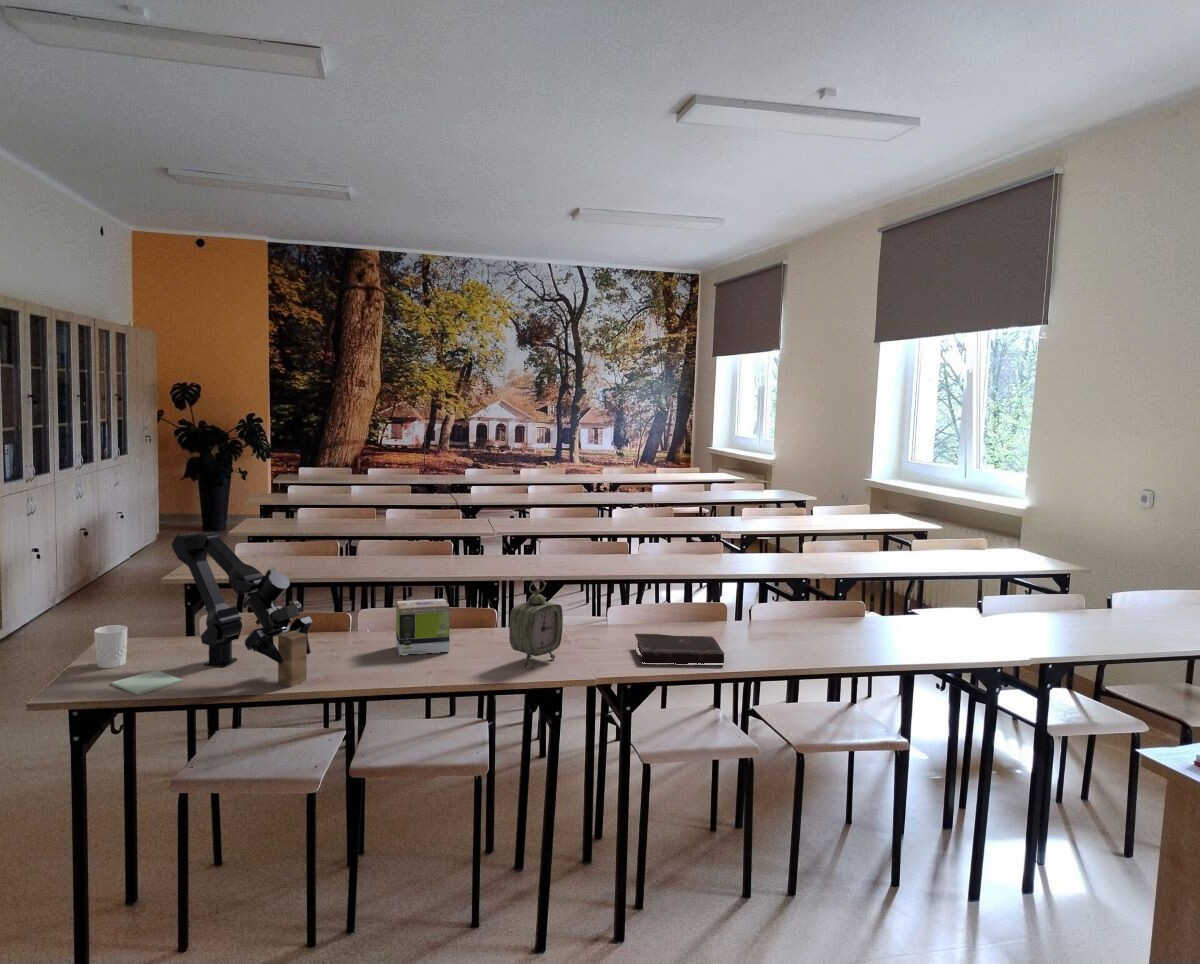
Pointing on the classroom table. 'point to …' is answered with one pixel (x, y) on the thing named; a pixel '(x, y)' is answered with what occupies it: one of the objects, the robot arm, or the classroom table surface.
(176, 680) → the green mat
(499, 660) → the classroom table surface
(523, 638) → the tabletop clock
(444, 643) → the tea box
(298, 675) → the walnut block
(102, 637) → the white cup
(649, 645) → the diary
